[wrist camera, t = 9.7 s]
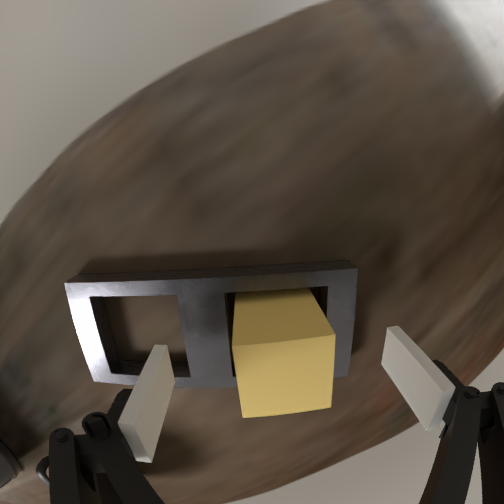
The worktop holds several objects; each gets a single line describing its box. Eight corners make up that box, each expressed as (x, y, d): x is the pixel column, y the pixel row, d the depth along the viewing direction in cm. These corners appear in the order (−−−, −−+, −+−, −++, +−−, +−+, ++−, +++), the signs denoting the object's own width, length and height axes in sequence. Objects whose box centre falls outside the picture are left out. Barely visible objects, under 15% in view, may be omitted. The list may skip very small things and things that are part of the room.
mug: (92, 412, 23) (57, 479, 14) (160, 477, 26) (146, 540, 17) (50, 420, 24) (16, 474, 15) (113, 480, 26) (95, 533, 17)
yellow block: (242, 353, 22) (243, 417, 15) (235, 292, 20) (231, 346, 14) (308, 346, 22) (330, 407, 15) (307, 285, 20) (335, 334, 14)
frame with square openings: (102, 368, 22) (93, 381, 20) (77, 274, 20) (64, 283, 18) (340, 361, 22) (347, 375, 20) (347, 259, 20) (358, 268, 18)
